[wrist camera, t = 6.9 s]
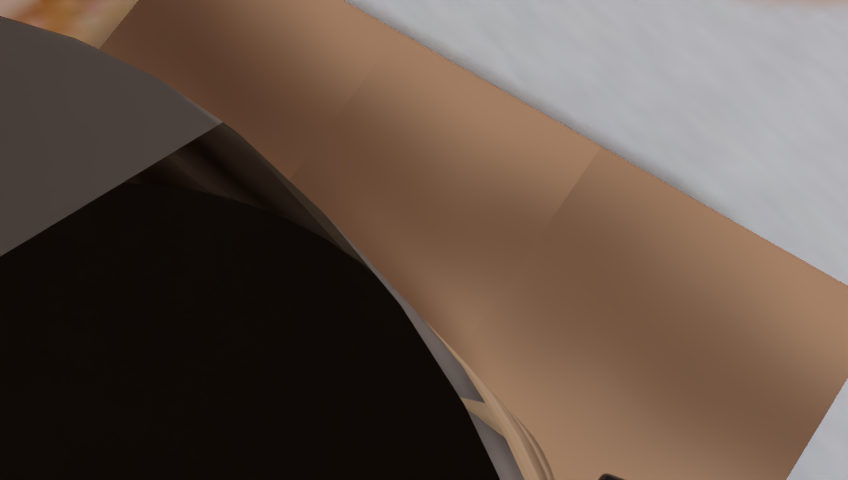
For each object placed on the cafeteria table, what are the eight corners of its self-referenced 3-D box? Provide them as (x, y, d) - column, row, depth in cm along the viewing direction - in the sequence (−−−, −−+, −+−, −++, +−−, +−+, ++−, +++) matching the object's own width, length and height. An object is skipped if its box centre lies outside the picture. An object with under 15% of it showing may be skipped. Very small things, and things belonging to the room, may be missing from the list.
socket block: (378, 1065, 18) (330, 1231, 14) (-148, 514, 23) (-285, 526, 20) (826, 337, 20) (889, 309, 17) (254, -1, 26) (203, -79, 22)
